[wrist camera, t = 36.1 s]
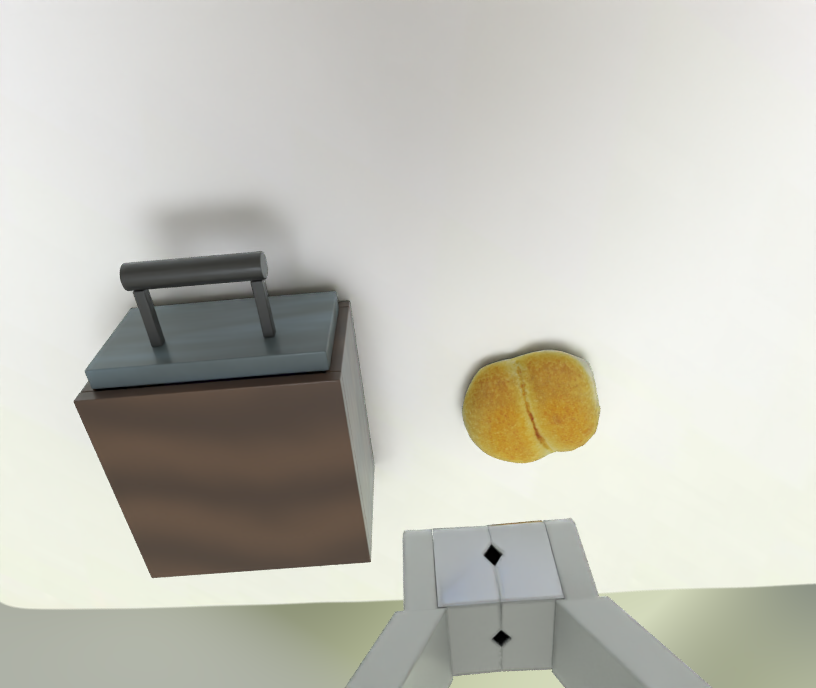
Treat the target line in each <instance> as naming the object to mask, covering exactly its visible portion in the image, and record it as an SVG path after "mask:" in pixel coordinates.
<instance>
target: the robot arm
mask: <svg viewBox="0 0 816 688" xmlns="http://www.w3.org/2000/svg"><path fill="white" fill-rule="evenodd" d="M403 588H404V611H397V612H395V613H394V615H393V616H392V618H391V619H390V621H389V622H388V624H387V625H386V627H385V628H384V630H383V631H382V633H381V634H380V636H379V637H378V639H377V640H376V642H375V643H374V645H373V646H372V648H371V649H370V651H369V652H368V654H367V655H366V657H365V658H364V660H363V661H362V663H361V664H360V666H359V667H358V669H357V670H356V672H355V673H354V675H353V676H352V678H351V679H350V681H349V682H348V684H347V685H346V687H345V688H449V687H450V685H451V683H452V680H453V676H459V675H469V674H480V673H490V672H500V671H520V670H521V671H523V670H547V669H552V672H553V673H554V675H555V676H556V677H557V678H558V680H559V681H560V682H561V683H562V685H563V686H564V687H565V688H712V687H711V686H710V685H709V684H708V683H707V682H705V681H704V680H703V679H702V678H701V677H700V676H699V675H697V674H696V673H695V672H694V671H693V670H692V669H691V668H689V667H688V666H687V665H686V664H685V663H684V662H683V661H681V660H680V659H679V658H678V657H677V656H675V655H674V654H673V653H672V652H671V651H670V650H669V649H668V648H666V647H665V646H664V645H663V644H662V643H661V642H660V641H658V640H657V639H656V638H655V637H654V636H653V635H652V634H650V633H649V632H648V631H647V630H646V629H645V628H644V627H642V626H641V625H640V624H639V623H638V622H637V621H636V620H634V619H633V618H632V617H631V616H630V615H629V614H627V613H626V612H625V611H624V610H623V609H622V608H621V607H619V606H618V605H617V604H616V603H615V602H613V601H612V600H611V599H610V598H609V597H608V596H607V597H599V595H598V592H597V589H596V586H595V582H594V579H593V576H592V573H591V570H590V567H589V564H588V561H587V558H586V555H585V552H584V549H583V546H582V543H581V540H580V537H579V533H578V530H577V527H576V524H575V522H574V521H573V520H572V519H571V518H569V519H557V520H544V521H543V522H542V521H541V520H540V521H529V522H518V523H506V524H495V525H487V526H476V527H456V528H435V529H433V535H432V529H424V530H406V531H404V533H403Z"/></svg>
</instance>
